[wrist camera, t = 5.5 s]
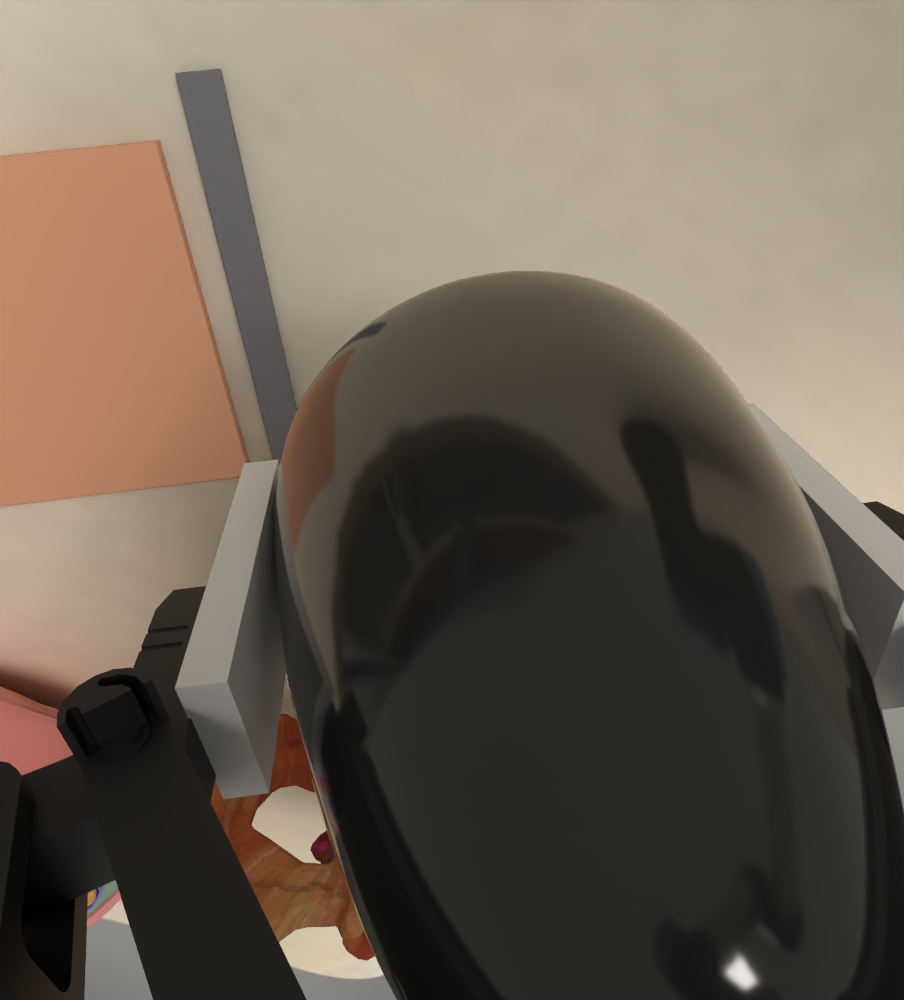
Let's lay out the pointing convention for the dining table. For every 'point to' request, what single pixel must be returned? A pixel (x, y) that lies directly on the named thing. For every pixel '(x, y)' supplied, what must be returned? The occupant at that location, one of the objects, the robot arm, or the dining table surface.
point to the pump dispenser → (579, 665)
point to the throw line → (239, 247)
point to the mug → (291, 857)
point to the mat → (104, 332)
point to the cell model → (42, 763)
